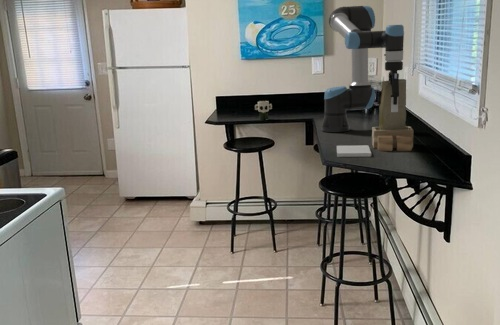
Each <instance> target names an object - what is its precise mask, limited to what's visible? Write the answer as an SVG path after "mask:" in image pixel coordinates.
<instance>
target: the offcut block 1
mask: <svg viewBox="0 0 500 325" xmlns="http://www.w3.org/2000/svg"><path fill="white" fill-rule="evenodd" d="M376 149H377V150H378V151H379V152H380V151H383V152H384V151H386V152H388V151H390V152H391V151H393V149H394V148H393V137H392V136H378V147H377V148H376ZM378 151H377V152H378Z"/></svg>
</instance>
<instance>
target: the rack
mask: <svg viewBox="0 0 500 325" xmlns="http://www.w3.org/2000/svg"><path fill="white" fill-rule="evenodd" d="M401 135H411V137H412V149H413V148H414V129H413V128H412V126H409V125H408V126H407V125H406V130H380V129H379V126H372V127H371V144H372V145H371V146H372V147H373V148H374V149H377V147H378V136H392V137H393V148H392V149H396V136H401Z"/></svg>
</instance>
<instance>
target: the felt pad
mask: <svg viewBox="0 0 500 325" xmlns="http://www.w3.org/2000/svg"><path fill="white" fill-rule="evenodd" d="M336 156H337V158H347V157H349V158H351V157H352V158H355V157H356V158H359V157H365V158H369V157H370V158H371V157H372V150H371V148H370V147H369V144H368V145H366V144H365V145H364V144H363V145H360V144H359V145H356V144H355V145H336Z"/></svg>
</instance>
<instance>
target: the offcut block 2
mask: <svg viewBox="0 0 500 325" xmlns="http://www.w3.org/2000/svg"><path fill="white" fill-rule="evenodd" d="M395 149H396V151H400V152H401V151H410V152H411V151H412V150H413V148H412V137H411V135H401V136H396V148H395Z"/></svg>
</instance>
